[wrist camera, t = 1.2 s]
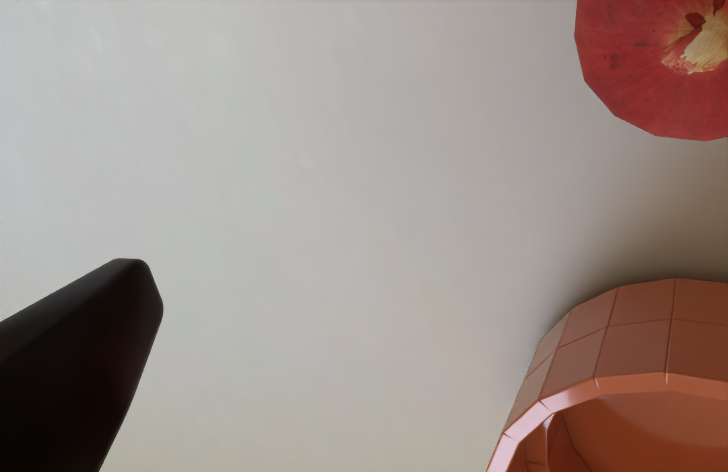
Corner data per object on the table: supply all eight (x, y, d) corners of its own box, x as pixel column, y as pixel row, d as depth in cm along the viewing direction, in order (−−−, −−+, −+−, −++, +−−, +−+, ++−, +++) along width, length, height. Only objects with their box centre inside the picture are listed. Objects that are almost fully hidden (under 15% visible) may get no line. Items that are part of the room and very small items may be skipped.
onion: (616, -123, 18) (559, -146, 12) (870, -128, 16) (979, -161, 9) (585, 91, 21) (524, 171, 14) (801, 112, 18) (847, 219, 12)
